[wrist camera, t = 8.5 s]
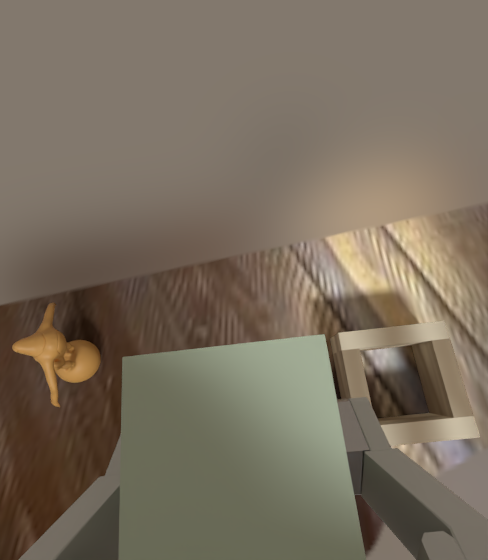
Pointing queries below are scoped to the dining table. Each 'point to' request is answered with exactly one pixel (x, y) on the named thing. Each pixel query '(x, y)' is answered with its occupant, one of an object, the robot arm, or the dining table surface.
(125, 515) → the sage-green peg
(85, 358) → the figurine
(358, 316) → the dining table surface
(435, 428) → the beige square socket frame
